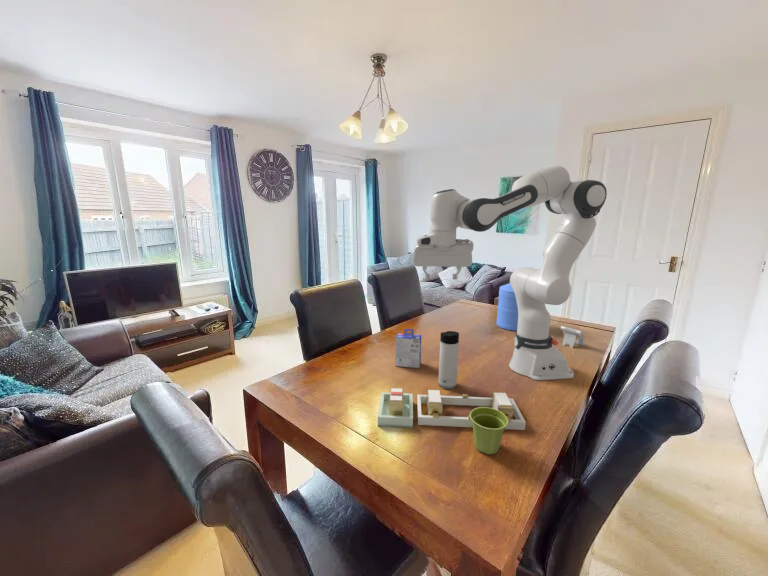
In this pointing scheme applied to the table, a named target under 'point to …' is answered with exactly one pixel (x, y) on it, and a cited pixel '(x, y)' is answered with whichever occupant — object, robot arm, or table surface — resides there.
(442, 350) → the travel mug
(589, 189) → the robot arm
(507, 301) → the water jug
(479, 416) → the plant pot
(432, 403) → the plain fuse
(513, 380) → the table surface
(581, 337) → the portable electronic device stand
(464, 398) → the clip rack
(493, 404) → the plain fuse
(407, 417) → the sage tray
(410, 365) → the ink cartridge box
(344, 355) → the table surface
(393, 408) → the block
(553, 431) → the table surface
